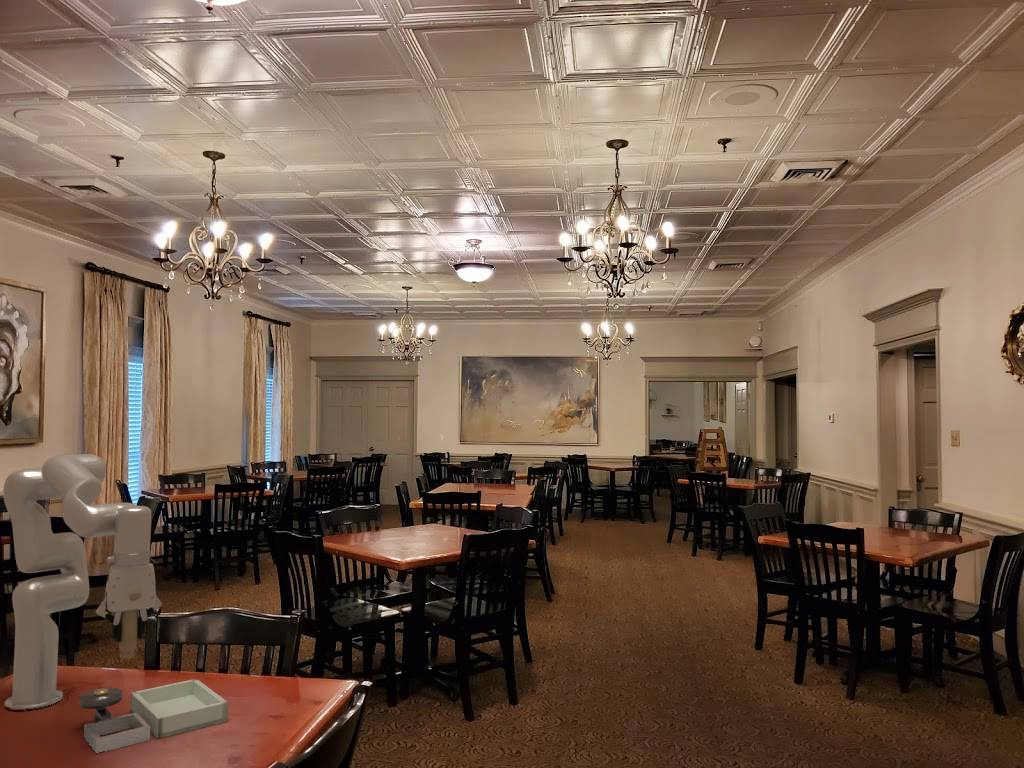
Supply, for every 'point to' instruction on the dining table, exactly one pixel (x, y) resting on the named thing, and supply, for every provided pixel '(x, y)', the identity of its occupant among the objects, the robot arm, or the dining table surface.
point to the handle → (129, 631)
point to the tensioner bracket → (111, 722)
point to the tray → (179, 707)
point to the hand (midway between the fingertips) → (128, 638)
